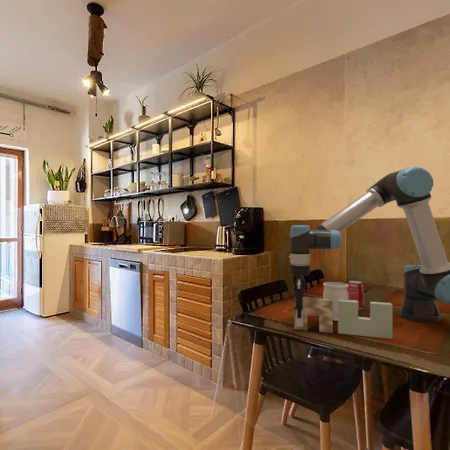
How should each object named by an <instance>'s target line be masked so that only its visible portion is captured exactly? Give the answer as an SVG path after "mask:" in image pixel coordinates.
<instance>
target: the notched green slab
mask: <svg viewBox="0 0 450 450" xmlns="http://www.w3.org/2000/svg"><path fill="white" fill-rule="evenodd" d="M337 334H340V335H349V336H350V335H351V336H361V337H369V338H370V337H371V338H380V339H388V340H389V339H391V340H393V303H391V302H380V301H370V303H369V317H365V316H364V317H363V316H359V310H358V302H357V301H355V300H340V299H338V321H337Z"/></svg>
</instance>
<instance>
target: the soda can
mask: <svg viewBox="0 0 450 450" xmlns="http://www.w3.org/2000/svg"><path fill="white" fill-rule="evenodd" d="M347 284H348V288H347V290H348V296H349V300H355V301H357V302H358V311H362V310H363V309H364V308H365V291H364V290H365V287H364V284H363V281H361V280H360V281H359V280H349V281H348V283H347Z"/></svg>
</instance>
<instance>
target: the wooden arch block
mask: <svg viewBox="0 0 450 450" xmlns="http://www.w3.org/2000/svg"><path fill="white" fill-rule="evenodd" d="M293 299H294V300H293V301H294V303H293V304H294V307H293V310H294V313H293V316H294V317H293V318H294V319H293V321H294V325H293V326H294V328H293V330H299V331H300V330H301V331H308V316H318V317H319V319H318V322H319V323H318V327H319V328H318V329H319V331H318V332H321V333H330V334H331V333H332V334H333V328H334V327H333V325H334V324H333V321H334V320H333V300H332V299H325V298H323V297H322V298H321V297H309V296H304V297H303V327H300V326H296V309H294V308H295V307H296V295H295V296H294V298H293Z"/></svg>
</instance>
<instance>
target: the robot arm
mask: <svg viewBox="0 0 450 450" xmlns="http://www.w3.org/2000/svg"><path fill="white" fill-rule="evenodd" d="M433 187H434V179H433V176H432V174H431V173H430V172H429V171H428V170H427V169H425V168H422V167H420V166H412V167H406V168H403V169H400V170H397V171H394V172H391V173H388V174H386V175H385V176H383V177H382V178H381V179H379V180H378V181H377V182H375V183H374V184H372V185H371V186H370V187H368V188H367V189H366V192H365V193H364V194H363V195H361V196H359V197H358V198H357V199H355V200H354V201H352V202H351V203H349V204H348V205H346V206H345V207H343V208H341V209H340V210H339V211H338V212H336V213H335V214H334V215H332V216H330V217H328V218H327V219H326V220H325V221H323V222H322V223H320V224H319V225H317V226H315V227H314V228H312V229H311V227H310V225H307V224H306V225H305V224H301V225H299V224H293V225H291V226H290V231H289V246H290V247H289V250H290V251H289V253H290V254H289V255H288V258H289V264H290V266H289V273H290V275H291V276H292V275H293V276H295V277H296V278H294V292H295V296H296V307H295V308H294V307H293V310H294V309H296V326H300V327H303V297H305V296H304V295H305V294H304V293H305V289H306V287H305V286H306V285H305V284H306V278H304V276H309V275H310V273H311V266H310V264H311V250H330V251H332V250H338V249H340V248H341V246H342V242H343V237H342V233H341V232H342V231H344V230H345V229H347V228H348V227H350V226H351V225H352V224H354V223H355V222H357V221H358V220H360V219H361V218H363V217H364V216H367V214H369V213H370V212H372V211H373V210H375V209H376V208H381V207H384V206H385V205H386V204H387V205H388V203H391V202H394V201H395V202H396V204H397V207H398V208H400V209H402V210H403V212H404V215H405V218H406V221H407V225H408V227H409V231H410V232H411V235H412V238H413V239H412V240H413V242H414V245H415V247H416V251H417V254H418V257H419V260H420V263H421V264H407V265H405V266H404V267H403V299H402V303H401V305H400V308H399V316H400V317H401V318H403V319H405V320H409V321H414V322H421V323H430V324H431V323H433V324H434V323H439V322H441V320H442V319H441V317H442V314H441V312H440V310H439V307H438V305H437V302H436V301H438V302H440V303H445V304H449V305H450V261H448V258H447V255H446V251H445V249H444V244H443V243H442V242H443V241H442V240H441V237H440V234H439V231H438V228H437V225H436V222H435V219H434V216H433V213H432V209H431V207H430V204H429V203H430V201H431V200H432V194H431V191H432V190H433Z"/></svg>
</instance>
